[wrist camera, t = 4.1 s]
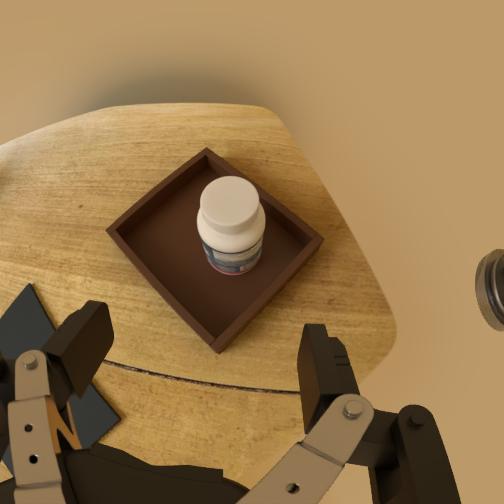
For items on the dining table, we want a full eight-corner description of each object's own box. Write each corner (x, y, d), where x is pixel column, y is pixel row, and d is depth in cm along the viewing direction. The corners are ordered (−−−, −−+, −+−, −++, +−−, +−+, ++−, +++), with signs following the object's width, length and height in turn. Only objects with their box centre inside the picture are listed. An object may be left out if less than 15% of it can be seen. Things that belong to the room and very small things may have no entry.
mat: (121, 418, 21) (119, 419, 21) (32, 497, 15) (30, 498, 15) (31, 284, 26) (28, 282, 25) (-38, 379, 20) (-40, 378, 19)
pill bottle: (208, 223, 28) (195, 167, 20) (261, 225, 29) (268, 168, 20) (203, 275, 26) (186, 232, 18) (261, 277, 26) (269, 234, 18)
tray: (318, 249, 28) (324, 238, 26) (219, 354, 24) (216, 353, 22) (208, 161, 32) (206, 146, 30) (114, 240, 28) (105, 230, 26)
